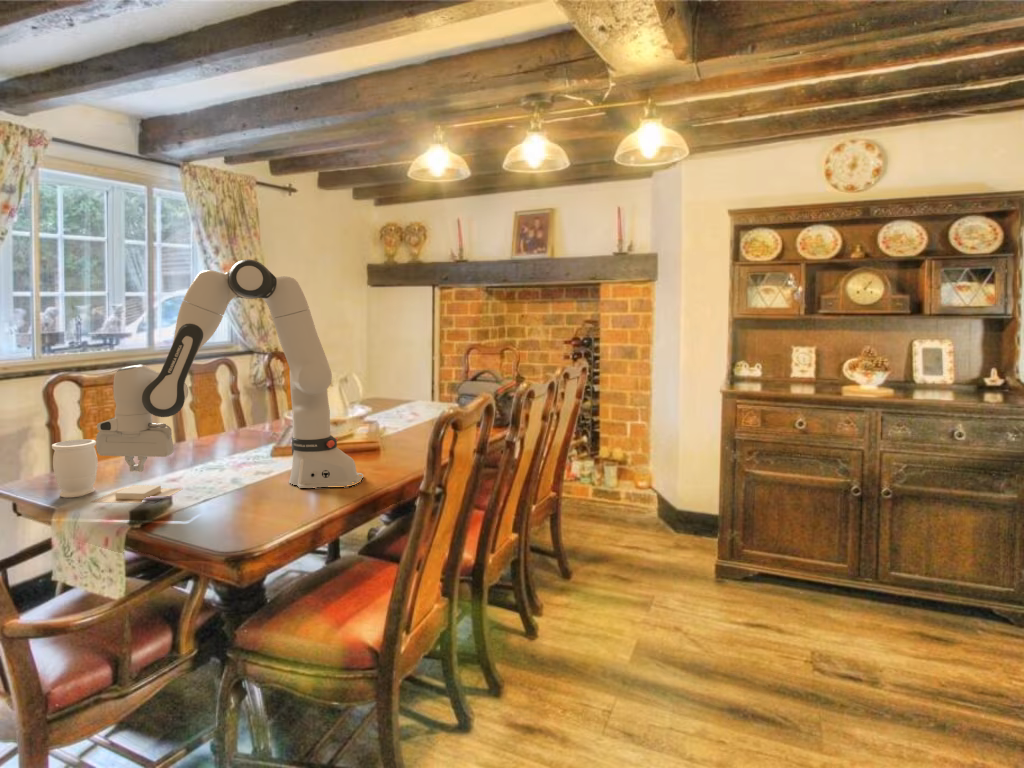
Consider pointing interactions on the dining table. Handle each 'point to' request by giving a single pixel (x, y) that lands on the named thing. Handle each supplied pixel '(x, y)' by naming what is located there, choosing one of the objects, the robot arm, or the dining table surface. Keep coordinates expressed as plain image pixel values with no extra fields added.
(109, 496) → the cork mat
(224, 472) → the dining table surface
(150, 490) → the beige flat block
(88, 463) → the jar
